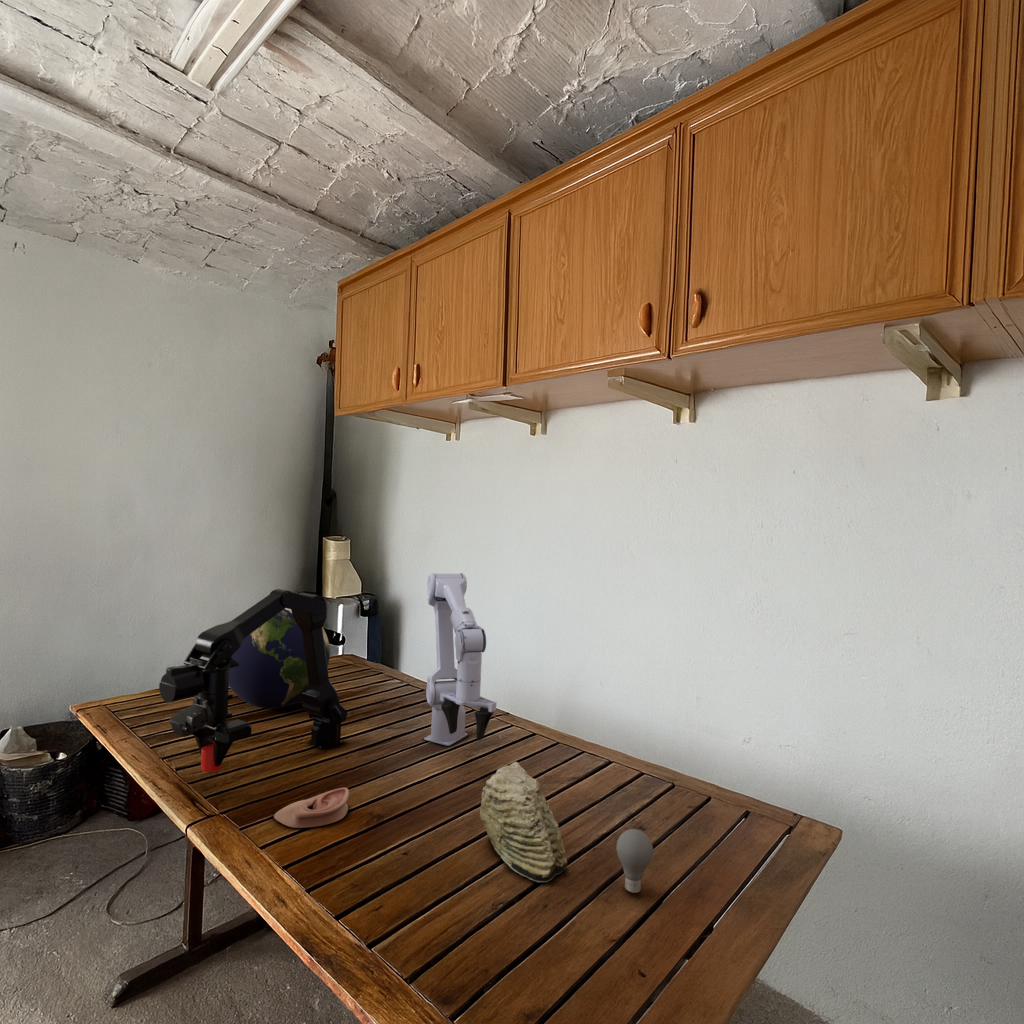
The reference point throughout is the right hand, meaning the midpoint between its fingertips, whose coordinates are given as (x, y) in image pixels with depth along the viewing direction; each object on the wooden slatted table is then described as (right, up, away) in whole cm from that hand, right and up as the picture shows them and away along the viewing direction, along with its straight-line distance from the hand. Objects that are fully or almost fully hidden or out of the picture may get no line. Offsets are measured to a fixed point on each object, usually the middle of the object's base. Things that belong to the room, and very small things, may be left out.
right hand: (466, 735), depth 151 cm
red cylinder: (-53, -1, -16) cm, 56 cm away
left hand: (-53, 0, -16) cm, 56 cm away
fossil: (+12, -9, -36) cm, 39 cm away
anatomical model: (-29, -7, -25) cm, 39 cm away
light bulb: (+31, -10, -45) cm, 56 cm away
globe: (-59, -5, +37) cm, 70 cm away
